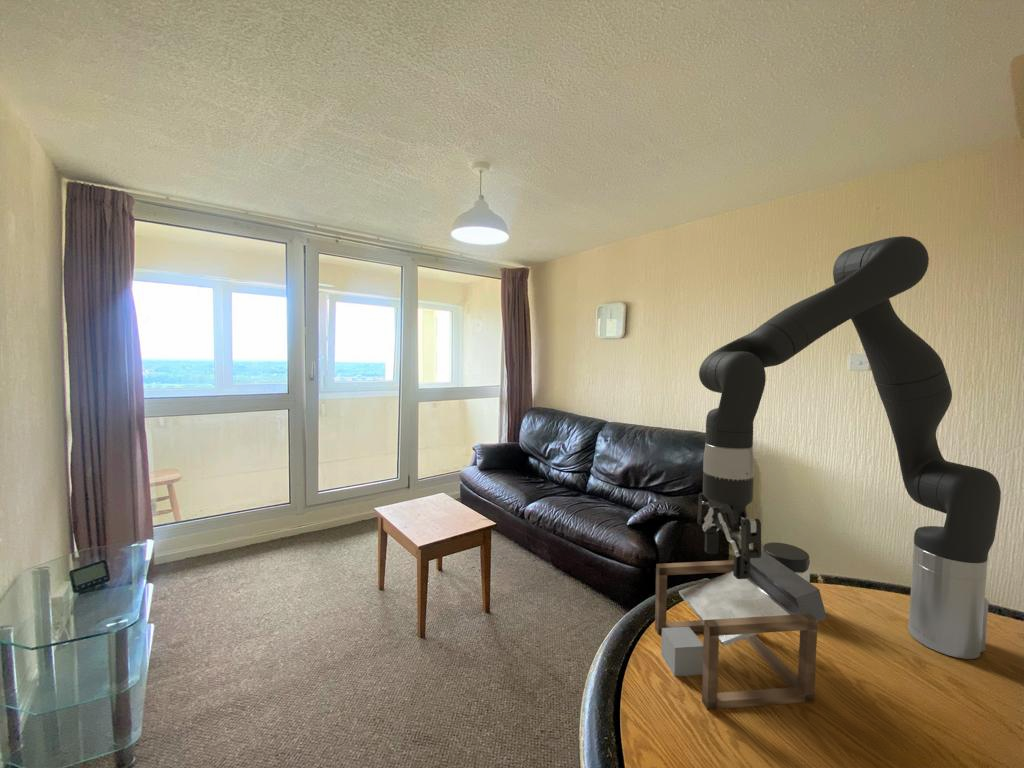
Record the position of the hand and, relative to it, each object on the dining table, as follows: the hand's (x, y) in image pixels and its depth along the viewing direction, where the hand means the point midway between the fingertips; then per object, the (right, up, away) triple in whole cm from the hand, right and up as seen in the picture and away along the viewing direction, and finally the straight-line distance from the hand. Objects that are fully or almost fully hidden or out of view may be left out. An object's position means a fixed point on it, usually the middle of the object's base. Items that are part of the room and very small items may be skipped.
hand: (725, 564), depth 71 cm
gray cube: (-5, -15, +1) cm, 16 cm away
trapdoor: (+5, -9, +1) cm, 10 cm away
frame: (+1, -17, +1) cm, 17 cm away
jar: (+21, -16, +17) cm, 31 cm away
